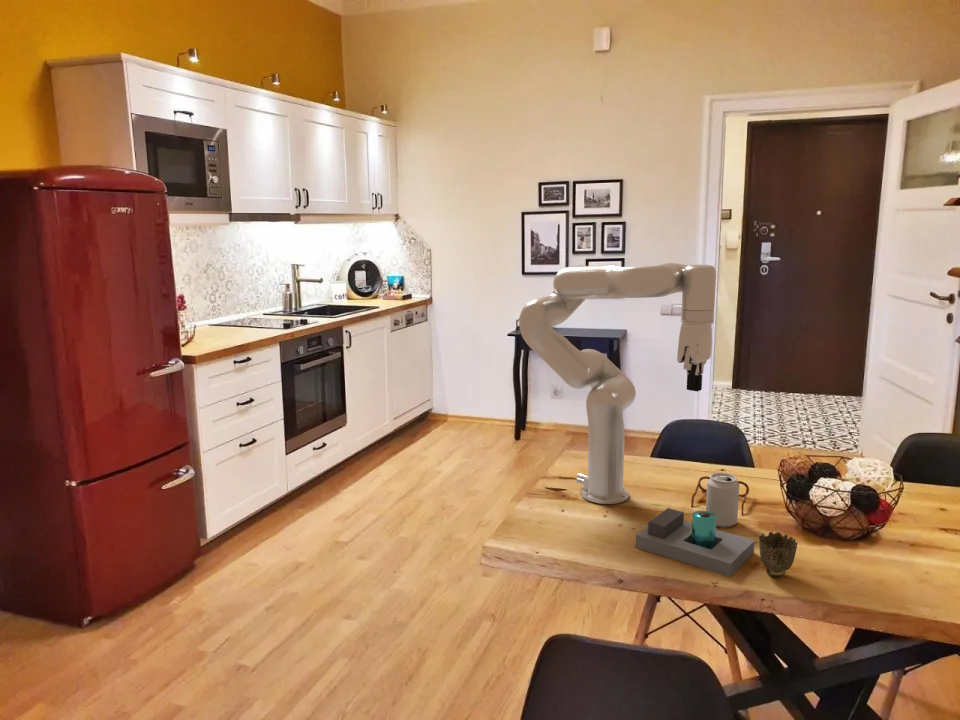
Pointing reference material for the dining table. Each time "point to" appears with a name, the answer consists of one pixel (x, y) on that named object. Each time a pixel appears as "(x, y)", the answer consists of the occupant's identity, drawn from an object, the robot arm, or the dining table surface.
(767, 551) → the cup
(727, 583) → the dining table surface
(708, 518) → the teal translucent cylinder
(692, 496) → the glasses
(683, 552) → the plate
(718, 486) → the can
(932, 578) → the dining table surface
